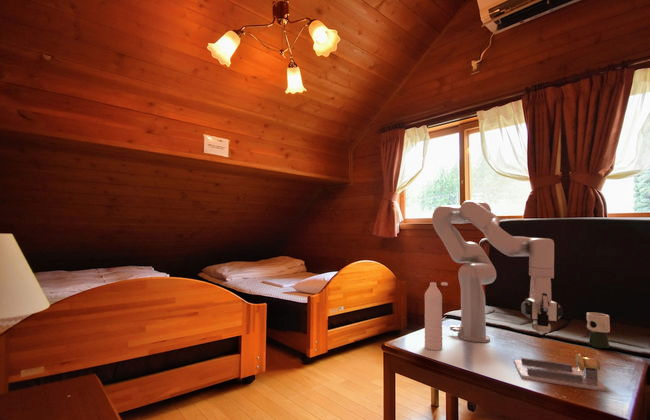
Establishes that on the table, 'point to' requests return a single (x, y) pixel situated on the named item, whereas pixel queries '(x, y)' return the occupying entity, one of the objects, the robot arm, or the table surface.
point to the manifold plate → (562, 372)
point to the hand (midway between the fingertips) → (540, 322)
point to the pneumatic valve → (532, 313)
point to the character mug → (598, 329)
